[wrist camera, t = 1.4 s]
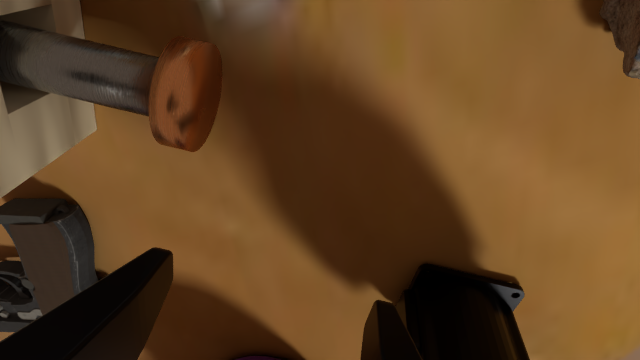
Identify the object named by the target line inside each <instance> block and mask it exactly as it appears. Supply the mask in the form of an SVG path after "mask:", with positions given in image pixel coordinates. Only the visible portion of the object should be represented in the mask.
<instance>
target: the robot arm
mask: <svg viewBox="0 0 640 360" xmlns="http://www.w3.org/2000/svg"><path fill="white" fill-rule="evenodd" d="M425 272H428V273H425ZM172 280H173V254H172V252H171V251H169V250H165V249H161V248H157V247H155V248H151V249H149V250H148V251H146V252H145V253H143V254H141V255H140V256H138V257H136V258H135V259H133V260H132V261H130V262H128V263H127V264H125V265H123V266H122V267H120V268H119V269H117V270H115V271H114V272H112V273H111V274H109V275H107V276H106V277H104V278H102V279H101V280H99V281H98V282H96V283H94V284H93V285H91V286H89V287H88V288H86V289H85V290H83V291H81V292H80V293H78V294H76V295H75V296H73V297H72V298H70V299H68V300H67V301H65V302H64V303H62V304H60V305H59V306H57V307H55V308H54V309H52V310H51V311H49V312H47V313H46V314H44V315H42V316H41V317H39V318H38V319H36V320H34V321H33V322H31V323H29V324H28V325H26V326H25V327H23V328H21V329H20V330H18V331H17V332H15V333H13V334H12V335H10V336H8V337H7V338H5V339H4V340H2V341H0V360H137V359H138V357H139V355H140V353H141V352H142V350H143V348H144V346H145V343H146V341H147V339H148V337H149V334H150V332H151V330H152V328H153V325H154V323H155V321H156V318H157V316H158V314H159V312H160V309H161V307H162V305H163V302H164V300H165V298H166V296H167V293H168V291H169V289H170V286H171V284H172ZM523 298H524V291H523V289H522V287H521V286H519V285H516V284H512V283H507V282H503V281H499V280H495V279H491V278H486V277H482V276H478V275H474V274H469V273H465V272H461V271H457V270H453V269H448V268H444V267H440V266H436V265H432V264H423V265H421V266H420V267H419V268H418V270H417V272H416V274H415V276H414V278H413V280H412V283H411V285H410V287H409V289H406V290H404V291H403V293H402V295H401V297H400V299H399V301H398V303H397V305H396V307H395V305H394V304H393V303H390V302H385V301H381V300H376V301H375V302H374V304H373V306H372V309H371V311H370V313H369V315H368V318H367V320H366V323H365V327H364V333H363V342H362V351H361V360H530V359H529V356H528V353H527V351H526V348H525V345H524V342H523V339H522V337H521V334H520V331H519V328H518V326H517V323H516V320H515V317H514V314H513V311H514V309H515V308H516V307H517V305H518V304H519V303H520V301H521V300H522V299H523Z"/></svg>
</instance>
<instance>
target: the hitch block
mask: <svg viewBox="0 0 640 360" xmlns="http://www.w3.org/2000/svg"><path fill="white" fill-rule="evenodd" d="M0 19H2V20H6V21H10V22H14V23H18V24H22V25H26V26H31V27H35V28H39V29H43V30H47V31H51V32H56V33H60V34H64V35H68V36H72V37H76V38H80V39H85V36H84V29H83V21H82V14H81V6H80V0H0ZM96 130H97V127H96V120H95V112H94V105H93V103H90V102H86V101H82V100H78V99H74V98H70V97H65V96H61V95H57V94H53V93H49V92H44V91H40V90H36V89H32V88H28V87H24V86H19V85H15V84H11V83H7V82H3V81H0V198H2V197H3V196H4V195H6V194H7V193H9V192H10V191H11V190H13V189H14V188H16V187H17V186H18V185H20V184H21V183H23V182H24V181H26V180H27V179H28V178H30V177H31V176H33V175H34V174H35V173H37V172H38V171H40V170H41V169H42V168H44V167H45V166H47V165H48V164H49V163H51V162H52V161H54V160H55V159H56V158H58V157H59V156H61V155H62V154H63V153H65V152H66V151H68V150H69V149H70V148H72V147H73V146H75V145H76V144H77V143H79V142H80V141H82V140H83V139H84V138H86V137H87V136H89V135H90V134H91V133H93V132H94V131H96Z"/></svg>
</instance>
